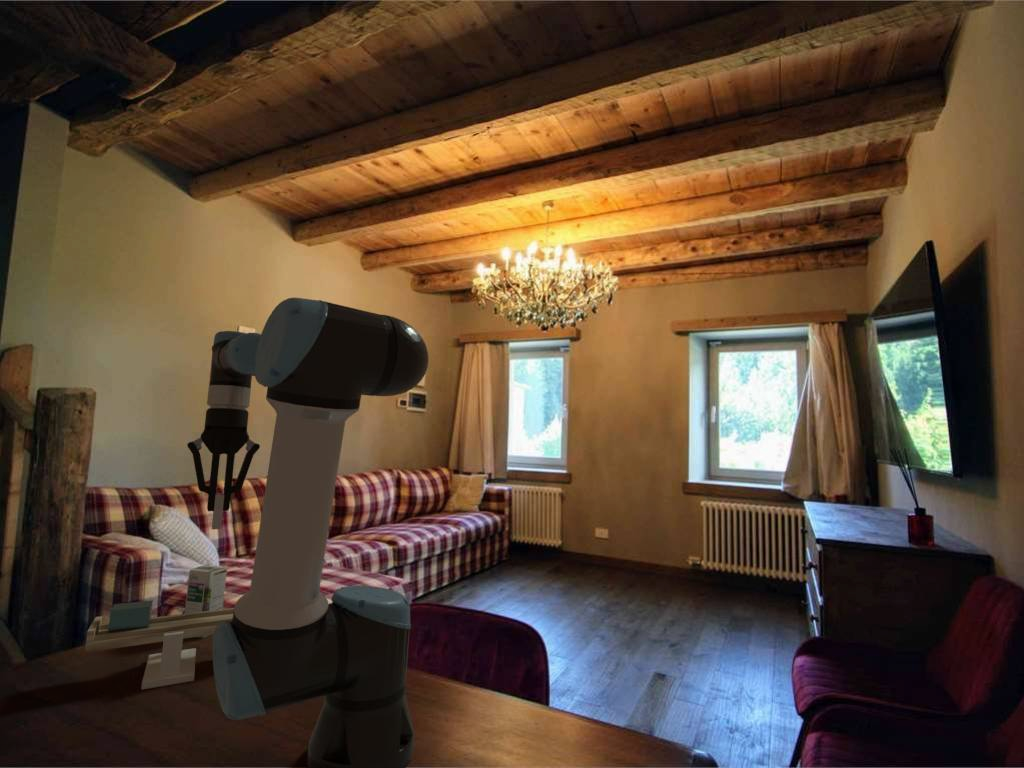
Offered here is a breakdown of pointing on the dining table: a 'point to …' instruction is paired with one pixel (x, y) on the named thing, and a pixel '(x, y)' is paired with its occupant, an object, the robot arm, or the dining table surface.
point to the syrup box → (205, 589)
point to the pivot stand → (170, 663)
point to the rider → (130, 616)
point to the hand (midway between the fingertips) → (216, 528)
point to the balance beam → (156, 629)
